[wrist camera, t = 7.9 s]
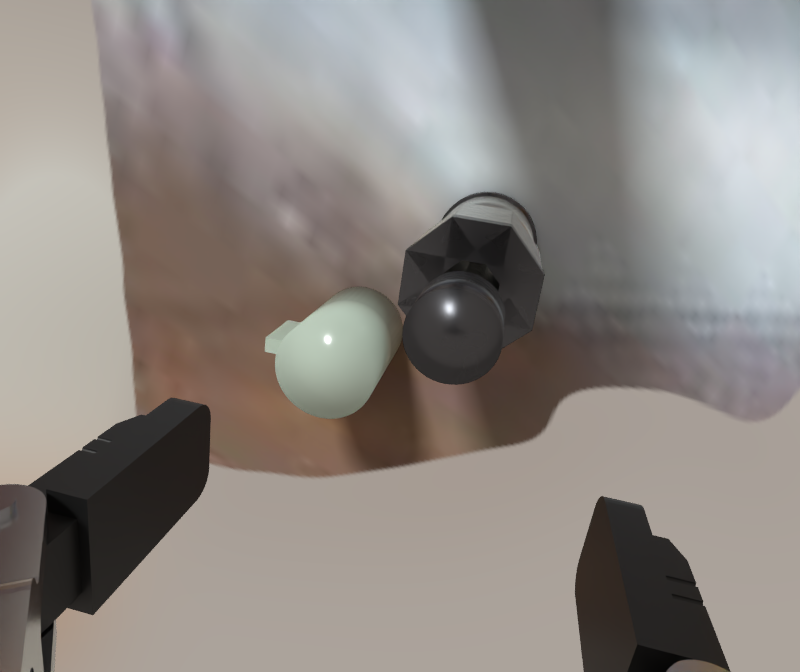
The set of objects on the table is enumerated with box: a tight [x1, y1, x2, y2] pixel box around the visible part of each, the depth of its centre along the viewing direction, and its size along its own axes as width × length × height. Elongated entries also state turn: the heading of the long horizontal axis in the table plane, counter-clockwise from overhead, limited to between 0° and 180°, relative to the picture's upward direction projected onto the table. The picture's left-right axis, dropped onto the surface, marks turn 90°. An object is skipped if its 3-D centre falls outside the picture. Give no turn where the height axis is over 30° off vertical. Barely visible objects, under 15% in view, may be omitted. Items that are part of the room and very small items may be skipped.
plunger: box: [402, 262, 505, 385], centre depth 27 cm, size 4×4×14 cm
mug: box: [265, 287, 403, 419], centre depth 41 cm, size 6×8×9 cm
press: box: [398, 192, 545, 348], centre depth 35 cm, size 9×7×14 cm
